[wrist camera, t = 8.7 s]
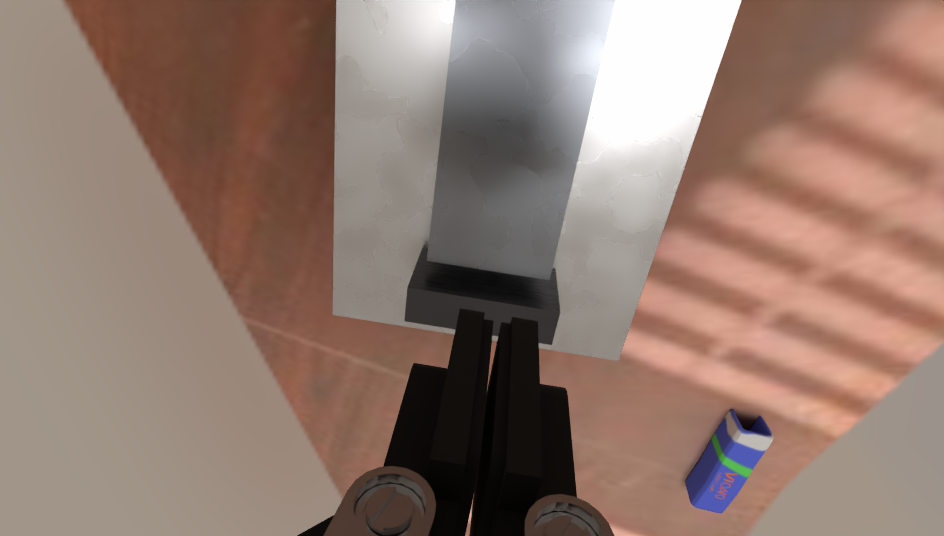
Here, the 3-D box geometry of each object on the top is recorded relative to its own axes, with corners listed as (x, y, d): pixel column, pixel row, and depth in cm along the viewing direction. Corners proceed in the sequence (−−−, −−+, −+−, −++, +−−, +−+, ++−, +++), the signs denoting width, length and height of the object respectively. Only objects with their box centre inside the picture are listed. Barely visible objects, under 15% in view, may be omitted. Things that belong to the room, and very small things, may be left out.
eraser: (763, 413, 29) (778, 441, 27) (713, 485, 32) (724, 515, 30) (728, 404, 29) (741, 432, 27) (681, 478, 32) (690, 507, 30)
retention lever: (486, -243, 15) (483, -263, 14) (660, -216, 15) (672, -234, 14) (431, 247, 23) (425, 262, 21) (548, 266, 23) (549, 282, 21)
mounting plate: (354, -294, 17) (294, -390, 12) (800, -226, 17) (900, -299, 12) (341, 298, 27) (307, 359, 23) (613, 342, 27) (631, 412, 23)
